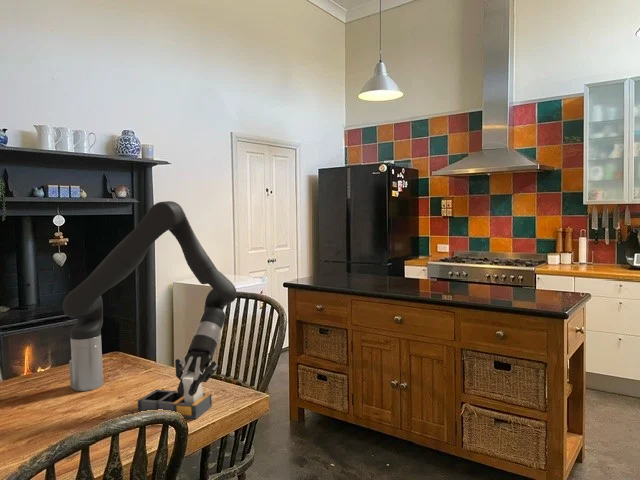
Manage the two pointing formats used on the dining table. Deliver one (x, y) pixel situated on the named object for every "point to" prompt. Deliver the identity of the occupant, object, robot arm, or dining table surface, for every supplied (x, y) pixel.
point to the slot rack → (175, 403)
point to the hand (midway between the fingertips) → (185, 394)
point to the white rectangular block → (186, 384)
